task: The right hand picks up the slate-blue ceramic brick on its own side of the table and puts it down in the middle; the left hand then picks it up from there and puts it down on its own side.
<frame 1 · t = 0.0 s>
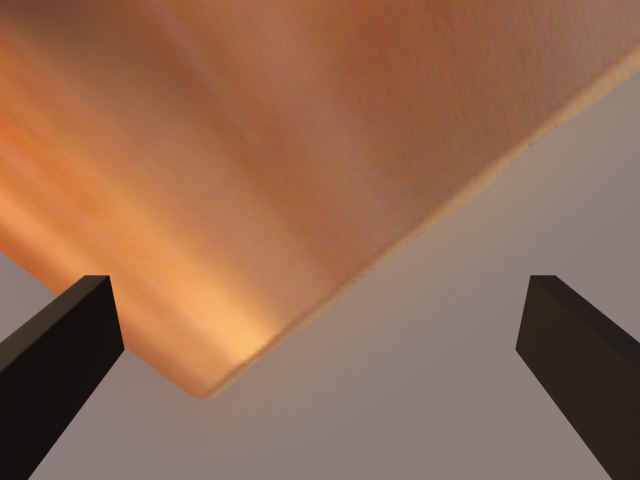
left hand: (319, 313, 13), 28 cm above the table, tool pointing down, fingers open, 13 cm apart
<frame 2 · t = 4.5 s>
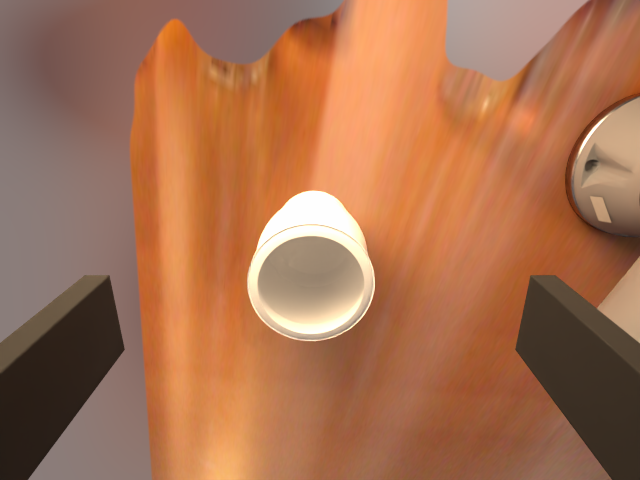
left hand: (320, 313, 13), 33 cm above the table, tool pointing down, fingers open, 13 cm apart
jar: (313, 225, 46), on the table
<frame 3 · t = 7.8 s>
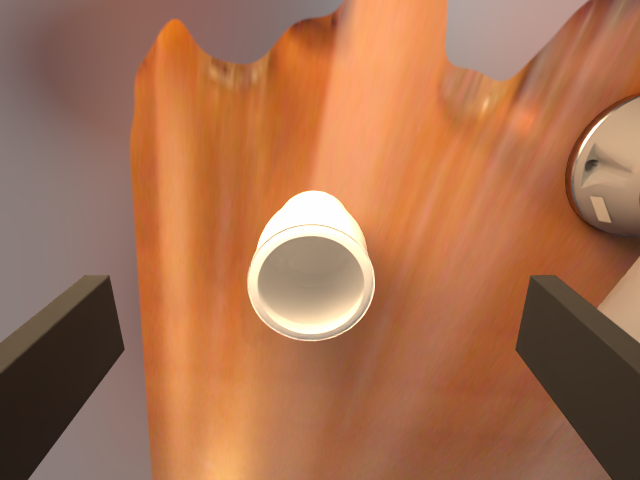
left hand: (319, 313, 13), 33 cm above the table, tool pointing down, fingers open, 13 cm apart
jar: (313, 225, 46), on the table
when the right hand's fingers open (5 cm above the table, at t = 11.5 s): brick drops 1 cm, on the table.
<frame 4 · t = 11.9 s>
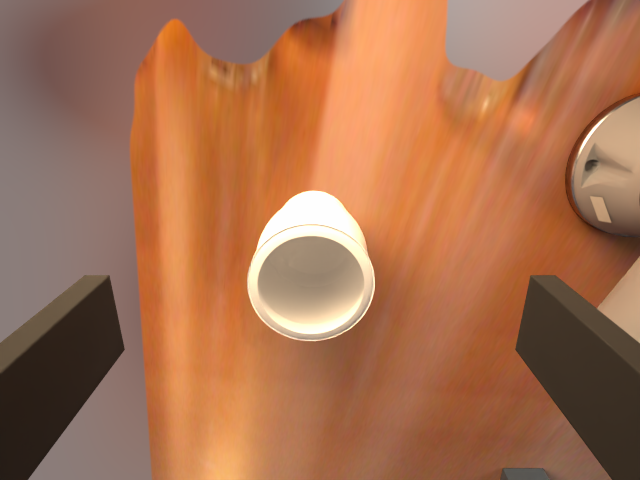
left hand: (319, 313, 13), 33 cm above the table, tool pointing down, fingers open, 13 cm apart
jar: (313, 225, 46), on the table
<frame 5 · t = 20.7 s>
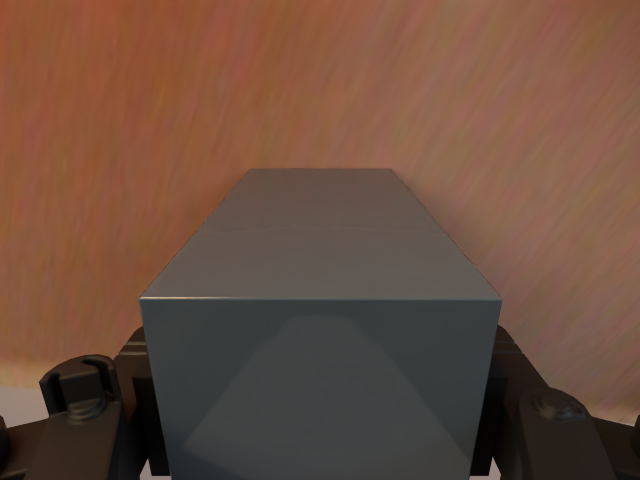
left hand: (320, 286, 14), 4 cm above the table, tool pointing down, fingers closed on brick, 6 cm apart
brick: (320, 247, 18), on the table, touching left hand
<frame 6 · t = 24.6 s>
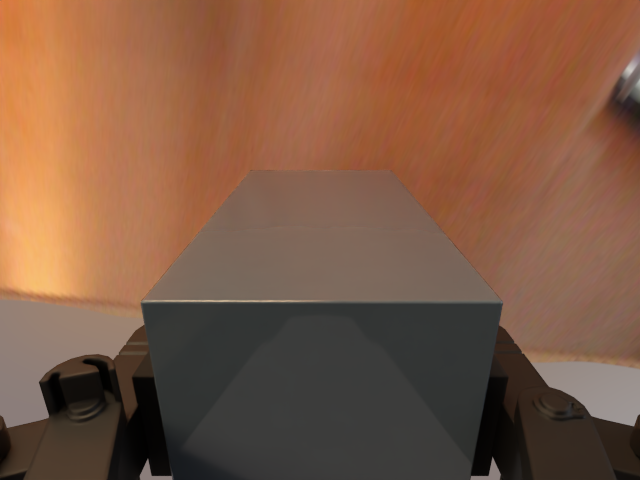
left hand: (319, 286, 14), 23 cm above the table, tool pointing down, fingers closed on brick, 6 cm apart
brick: (320, 248, 18), point 19 cm above the table, touching left hand
when the left hand's fingers open (5 cm above the table, at t = 28.7 s): brick stays where it is, on the table.
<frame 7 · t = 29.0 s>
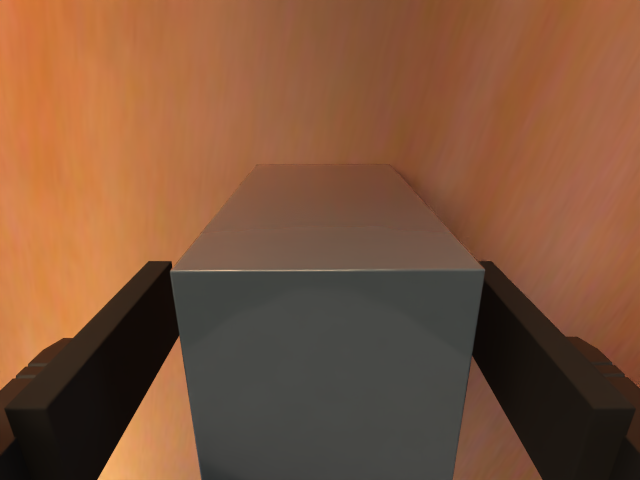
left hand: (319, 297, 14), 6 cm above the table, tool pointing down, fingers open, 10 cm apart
brick: (322, 239, 19), on the table
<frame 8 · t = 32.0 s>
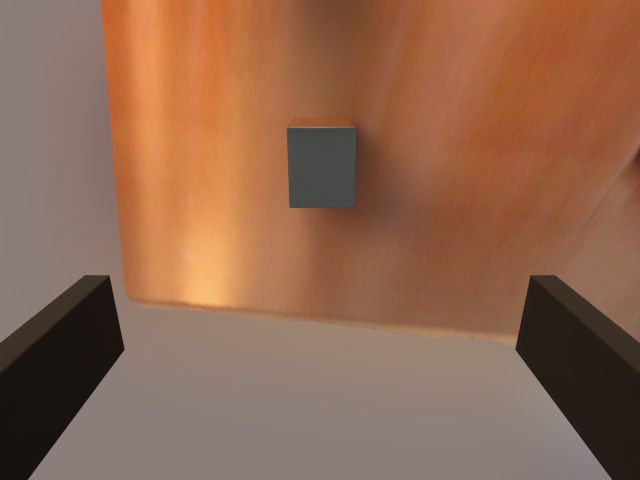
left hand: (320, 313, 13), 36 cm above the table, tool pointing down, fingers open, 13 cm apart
brick: (321, 150, 46), on the table
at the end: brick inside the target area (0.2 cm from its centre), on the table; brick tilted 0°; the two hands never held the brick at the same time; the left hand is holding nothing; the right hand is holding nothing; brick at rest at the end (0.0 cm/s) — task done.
